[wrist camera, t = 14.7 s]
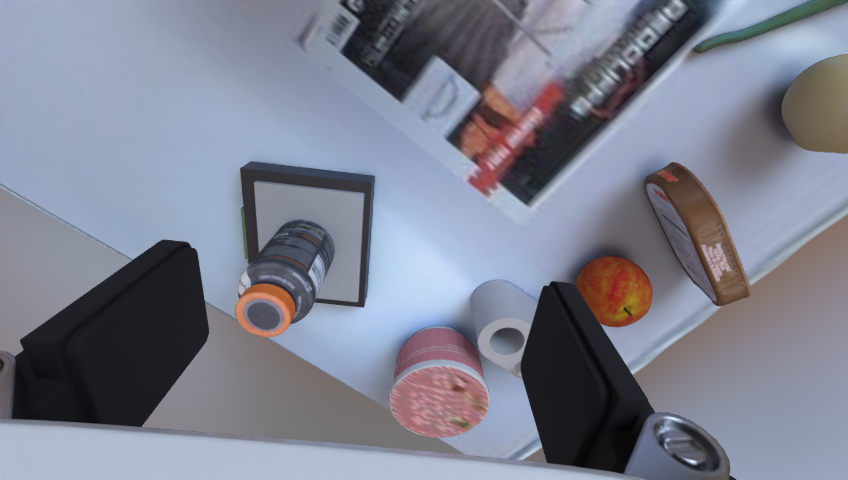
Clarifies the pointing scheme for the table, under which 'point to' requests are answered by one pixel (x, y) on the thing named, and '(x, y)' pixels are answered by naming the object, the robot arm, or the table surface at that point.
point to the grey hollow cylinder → (502, 322)
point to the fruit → (615, 290)
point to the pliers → (769, 24)
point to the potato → (819, 106)
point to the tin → (697, 233)
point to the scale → (313, 219)
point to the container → (438, 384)
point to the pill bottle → (284, 278)
